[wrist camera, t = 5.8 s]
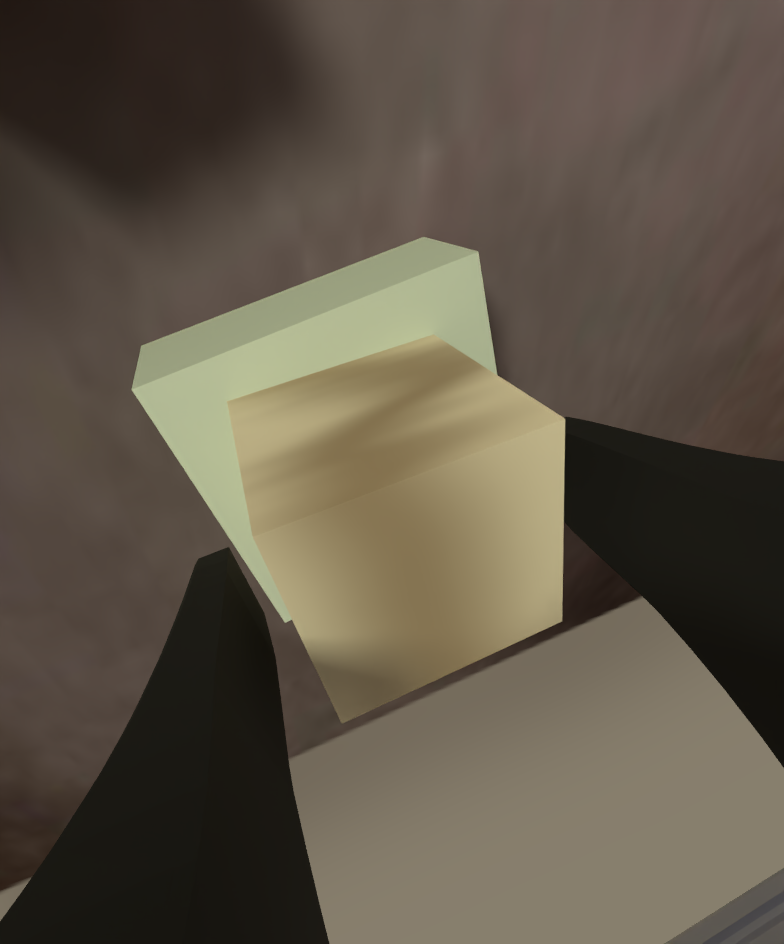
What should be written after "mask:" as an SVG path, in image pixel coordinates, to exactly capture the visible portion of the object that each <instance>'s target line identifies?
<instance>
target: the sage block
mask: <svg viewBox="0 0 784 944" xmlns="http://www.w3.org/2000/svg"><path fill="white" fill-rule="evenodd" d="M433 334H434V335H436V336H437V337H439V338H440V339H442V340H443V341H445V342H446V343H448V344H450V345H451V346H453V347H454V348H456V349H457V350H459V351H460V352H462V353H463V354H465V355H467V356H468V357H470V358H471V359H473V360H474V361H476V362H477V363H479V364H481V365H482V366H484V367H485V368H487V369H488V370H490V371H491V372H493V373H495V374H496V375H497V370H496V364H495V357H494V351H493V344H492V338H491V331H490V325H489V318H488V312H487V306H486V299H485V293H484V286H483V280H482V273H481V267H480V260H479V254H478V251H474V250H470V249H467V248H463V247H459V246H455V245H452V244H448V243H444V242H441V241H437V240H433V239H429V238H426V237H422V238H420V239H417V240H414V241H412V242H409V243H407V244H404V245H401V246H399V247H396V248H394V249H391V250H389V251H386V252H383V253H381V254H378V255H376V256H373V257H370V258H368V259H365V260H363V261H360V262H357V263H355V264H352V265H350V266H347V267H344V268H342V269H339V270H337V271H334V272H332V273H329V274H326V275H324V276H321V277H319V278H316V279H313V280H311V281H308V282H306V283H303V284H300V285H298V286H295V287H293V288H290V289H287V290H285V291H282V292H280V293H277V294H274V295H272V296H269V297H267V298H264V299H262V300H259V301H256V302H254V303H251V304H249V305H246V306H243V307H241V308H238V309H236V310H233V311H230V312H228V313H225V314H223V315H220V316H217V317H215V318H212V319H210V320H207V321H205V322H202V323H199V324H197V325H194V326H192V327H189V328H186V329H184V330H181V331H179V332H176V333H173V334H171V335H168V336H166V337H163V338H160V339H158V340H155V341H153V342H150V343H148V344H145V345H142V346H141V350H140V354H139V359H138V363H137V368H136V372H135V377H134V381H133V386H132V391H133V392H134V394H135V395H136V397H137V398H138V400H139V401H140V403H141V404H142V406H143V407H144V409H145V411H146V412H147V414H148V415H149V417H150V418H151V420H152V421H153V423H154V424H155V426H156V427H157V429H158V430H159V432H160V433H161V435H162V436H163V438H164V439H165V441H166V442H167V444H168V445H169V447H170V449H171V450H172V452H173V453H174V455H175V456H176V458H177V459H178V461H179V462H180V464H181V465H182V467H183V468H184V470H185V471H186V473H187V474H188V476H189V477H190V479H191V480H192V482H193V483H194V485H195V486H196V488H197V490H198V491H199V493H200V494H201V496H202V497H203V499H204V500H205V502H206V503H207V505H208V506H209V508H210V509H211V511H212V512H213V514H214V515H215V517H216V518H217V520H218V521H219V523H220V524H221V526H222V528H223V529H224V531H225V532H226V534H227V535H228V537H229V538H230V540H231V541H232V543H233V544H234V546H235V547H236V549H237V550H238V552H239V553H240V555H241V556H242V558H243V559H244V561H245V562H246V564H247V565H248V567H249V569H250V570H251V572H252V573H253V575H254V576H255V578H256V579H257V581H258V582H259V584H260V585H261V587H262V588H263V590H264V591H265V593H266V594H267V596H268V597H269V599H270V600H271V602H272V603H273V605H274V607H275V608H276V610H277V611H278V613H279V614H280V616H281V617H282V619H283V620H284V622H285V623H286V622H288V621H290V620H292V618H291V616H290V614H289V612H288V610H287V608H286V606H285V603H284V601H283V599H282V597H281V595H280V593H279V591H278V589H277V587H276V585H275V583H274V580H273V578H272V576H271V574H270V572H269V570H268V568H267V566H266V564H265V562H264V560H263V557H262V555H261V553H260V551H259V549H258V547H257V545H256V543H255V541H254V539H253V536H252V531H251V525H250V520H249V515H248V510H247V504H246V499H245V494H244V489H243V483H242V478H241V473H240V468H239V462H238V457H237V452H236V447H235V441H234V436H233V431H232V426H231V420H230V415H229V410H228V405H227V401H230V400H233V399H236V398H239V397H242V396H245V395H248V394H251V393H254V392H257V391H260V390H263V389H267V388H270V387H273V386H276V385H279V384H282V383H285V382H288V381H291V380H294V379H297V378H300V377H303V376H307V375H310V374H313V373H316V372H319V371H322V370H325V369H328V368H331V367H334V366H337V365H340V364H344V363H347V362H350V361H353V360H356V359H359V358H362V357H365V356H368V355H371V354H374V353H378V352H381V351H384V350H387V349H390V348H393V347H396V346H399V345H402V344H405V343H409V342H412V341H415V340H418V339H421V338H424V337H427V336H430V335H433Z"/></svg>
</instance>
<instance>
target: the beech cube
mask: <svg viewBox="0 0 784 944" xmlns="http://www.w3.org/2000/svg"><path fill="white" fill-rule="evenodd" d="M227 405H228V410H229V415H230V420H231V426H232V431H233V436H234V441H235V447H236V452H237V457H238V462H239V468H240V473H241V478H242V483H243V489H244V494H245V499H246V504H247V510H248V515H249V520H250V525H251V531H252V536H253V539H254V541H255V543H256V545H257V547H258V549H259V551H260V553H261V555H262V557H263V560H264V562H265V564H266V566H267V568H268V570H269V572H270V574H271V576H272V578H273V580H274V583H275V585H276V587H277V589H278V591H279V593H280V595H281V597H282V599H283V601H284V603H285V606H286V608H287V610H288V612H289V614H290V616H291V618H292V620H293V622H294V624H295V626H296V629H297V631H298V633H299V635H300V637H301V639H302V641H303V643H304V645H305V647H306V649H307V652H308V654H309V656H310V658H311V660H312V662H313V664H314V666H315V668H316V670H317V672H318V675H319V677H320V679H321V681H322V683H323V685H324V687H325V689H326V691H327V693H328V696H329V698H330V700H331V702H332V704H333V706H334V708H335V710H336V712H337V714H338V716H339V719H340V721H341V723H344V722H347V721H349V720H351V719H353V718H355V717H357V716H359V715H362V714H364V713H366V712H368V711H370V710H372V709H375V708H377V707H379V706H381V705H383V704H385V703H387V702H390V701H392V700H394V699H396V698H398V697H400V696H402V695H405V694H407V693H409V692H411V691H413V690H415V689H418V688H420V687H422V686H424V685H426V684H428V683H430V682H433V681H435V680H437V679H439V678H441V677H443V676H446V675H448V674H450V673H452V672H454V671H456V670H458V669H461V668H463V667H465V666H467V665H469V664H471V663H473V662H476V661H478V660H480V659H482V658H484V657H486V656H489V655H491V654H493V653H495V652H497V651H499V650H501V649H504V648H506V647H508V646H510V645H512V644H514V643H517V642H519V641H521V640H523V639H525V638H527V637H529V636H532V635H534V634H536V633H538V632H540V631H542V630H544V629H547V628H549V627H551V626H553V625H555V624H557V623H560V622H562V601H563V533H564V466H565V418H563V417H561V416H560V415H558V414H557V413H555V412H554V411H552V410H551V409H549V408H547V407H546V406H544V405H543V404H541V403H540V402H538V401H537V400H535V399H533V398H532V397H530V396H529V395H527V394H526V393H524V392H523V391H521V390H519V389H518V388H516V387H515V386H513V385H512V384H510V383H509V382H507V381H505V380H504V379H502V378H501V377H499V376H498V375H496V374H495V373H493V372H491V371H490V370H488V369H487V368H485V367H484V366H482V365H481V364H479V363H477V362H476V361H474V360H473V359H471V358H470V357H468V356H467V355H465V354H463V353H462V352H460V351H459V350H457V349H456V348H454V347H453V346H451V345H450V344H448V343H446V342H445V341H443V340H442V339H440V338H439V337H437V336H436V335H434V334H433V335H430V336H427V337H424V338H421V339H418V340H415V341H412V342H409V343H405V344H402V345H399V346H396V347H393V348H390V349H387V350H384V351H381V352H378V353H374V354H371V355H368V356H365V357H362V358H359V359H356V360H353V361H350V362H347V363H344V364H340V365H337V366H334V367H331V368H328V369H325V370H322V371H319V372H316V373H313V374H310V375H307V376H303V377H300V378H297V379H294V380H291V381H288V382H285V383H282V384H279V385H276V386H273V387H270V388H267V389H263V390H260V391H257V392H254V393H251V394H248V395H245V396H242V397H239V398H236V399H233V400H230V401H227Z"/></svg>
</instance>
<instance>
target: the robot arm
mask: <svg viewBox="0 0 784 944" xmlns="http://www.w3.org/2000/svg"><path fill="white" fill-rule="evenodd" d="M564 521H565V523H566V524H567V525H568V526H569V527H570V529H571V530H572V531H573V532H574V533H575V534H576V535H577V536H579V537H580V538H581V539H582V540H583V541H584V542H585V543H586V544H587V545H588V546H589V547H590V548H591V549H592V550H593V551H594V552H595V553H596V554H598V555H599V556H600V557H601V558H602V559H603V560H604V561H605V562H606V563H607V564H608V565H609V566H611V567H612V568H613V569H614V570H615V571H616V572H617V573H618V574H619V575H620V576H621V577H622V578H623V579H625V580H626V581H627V582H628V583H629V584H630V585H631V586H632V587H633V588H634V589H635V590H636V591H638V592H639V593H640V594H641V595H642V596H643V597H644V598H645V599H646V600H647V601H648V602H649V603H650V604H651V605H652V606H653V607H654V608H655V609H656V610H657V611H658V612H659V613H660V614H661V615H662V617H663V618H664V619H665V620H666V621H667V622H668V623H669V624H670V626H671V627H672V628H673V629H674V630H675V631H676V632H677V633H678V635H679V636H680V637H681V638H682V639H683V640H684V641H685V643H686V644H687V645H688V646H689V647H690V648H691V649H692V651H693V652H694V653H695V654H696V655H697V657H698V658H699V659H700V660H701V661H702V663H703V664H704V665H705V666H706V667H707V669H708V670H709V671H710V672H711V673H712V675H713V676H714V677H715V678H716V680H717V681H718V682H719V683H720V684H721V686H722V687H723V688H724V689H725V690H726V692H727V693H728V694H729V696H730V697H731V698H732V700H733V701H734V702H735V703H736V705H737V706H738V707H739V709H740V710H741V711H742V712H743V714H744V715H745V716H746V718H747V719H748V720H749V721H750V723H751V724H752V725H753V727H754V728H755V729H756V730H757V732H758V733H759V734H760V736H761V737H762V738H763V740H764V741H765V743H766V744H767V745H768V747H769V748H770V749H771V751H772V752H773V753H774V755H775V756H776V758H777V759H778V760H779V762H780V763H781V765H782V766H783V767H784V462H783V461H776V460H769V459H762V458H755V457H748V456H742V455H736V454H731V453H725V452H720V451H715V450H710V449H705V448H700V447H695V446H690V445H686V444H681V443H677V442H673V441H668V440H664V439H660V438H656V437H652V436H647V435H643V434H639V433H635V432H631V431H627V430H623V429H619V428H615V427H611V426H607V425H603V424H599V423H595V422H591V421H586V420H581V419H576V418H570V417H565V466H564ZM0 944H329V941H328V937H327V933H326V929H325V925H324V921H323V917H322V913H321V909H320V905H319V901H318V896H317V892H316V888H315V883H314V879H313V875H312V871H311V867H310V862H309V858H308V854H307V850H306V845H305V841H304V836H303V832H302V828H301V823H300V819H299V814H298V809H297V805H296V801H295V796H294V792H293V786H292V781H291V774H290V768H289V761H288V752H287V744H286V736H285V728H284V720H283V712H282V704H281V696H280V688H279V681H278V673H277V665H276V658H275V654H274V650H273V645H272V641H271V637H270V633H269V630H268V626H267V622H266V618H265V614H264V612H263V610H262V608H261V606H260V604H259V602H258V601H257V599H256V597H255V595H254V593H253V591H252V589H251V588H250V586H249V584H248V582H247V580H246V578H245V576H244V575H243V573H242V571H241V569H240V567H239V565H238V563H237V562H236V560H235V558H234V556H233V554H232V552H231V550H230V549H229V547H228V548H225V549H223V550H220V551H217V552H215V553H212V554H210V555H207V556H204V557H202V558H199V559H198V561H197V563H196V564H195V567H194V570H193V573H192V575H191V578H190V581H189V584H188V587H187V590H186V592H185V595H184V598H183V601H182V603H181V606H180V608H179V611H178V614H177V616H176V619H175V621H174V624H173V626H172V629H171V631H170V634H169V636H168V639H167V641H166V644H165V646H164V648H163V651H162V653H161V656H160V658H159V660H158V662H157V664H156V667H155V669H154V671H153V673H152V675H151V677H150V679H149V682H148V684H147V686H146V688H145V690H144V692H143V694H142V696H141V699H140V701H139V703H138V705H137V707H136V709H135V711H134V713H133V715H132V717H131V719H130V720H129V722H128V724H127V726H126V728H125V730H124V732H123V734H122V736H121V737H120V739H119V741H118V743H117V745H116V746H115V748H114V750H113V752H112V753H111V755H110V757H109V759H108V761H107V762H106V764H105V766H104V768H103V769H102V771H101V773H100V774H99V776H98V778H97V779H96V781H95V782H94V784H93V786H92V787H91V789H90V791H89V792H88V794H87V795H86V797H85V798H84V800H83V801H82V803H81V805H80V806H79V808H78V809H77V811H76V812H75V814H74V815H73V817H72V819H71V820H70V822H69V823H68V825H67V826H66V828H65V829H64V831H63V833H62V834H61V836H60V837H59V839H58V840H57V842H56V843H55V845H54V846H53V848H52V849H51V851H50V852H49V854H48V855H47V857H46V858H45V860H44V861H43V863H42V864H41V865H40V867H39V868H38V870H37V871H36V872H35V874H34V875H33V877H32V878H31V880H30V881H29V882H28V884H27V885H26V887H25V888H24V890H23V891H22V893H21V894H20V895H19V897H18V898H17V899H16V901H15V902H14V904H13V905H12V906H11V908H10V909H9V910H8V912H7V913H6V915H5V916H4V917H3V919H2V920H1V921H0ZM665 944H784V868H783V869H782V870H780V871H778V872H777V873H775V874H774V875H772V876H770V877H769V878H767V879H766V880H764V881H763V882H761V883H759V884H758V885H756V886H755V887H753V888H752V889H750V890H748V891H747V892H745V893H744V894H742V895H741V896H739V897H737V898H736V899H734V900H733V901H731V902H729V903H728V904H726V905H725V906H723V907H722V908H720V909H718V910H717V911H715V912H714V913H712V914H711V915H709V916H707V917H706V918H704V919H703V920H701V921H700V922H698V923H696V924H695V925H693V926H692V927H690V928H689V929H687V930H685V931H684V932H682V933H681V934H679V935H677V936H676V937H674V938H673V939H671V940H670V941H668V942H666V943H665Z"/></svg>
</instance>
